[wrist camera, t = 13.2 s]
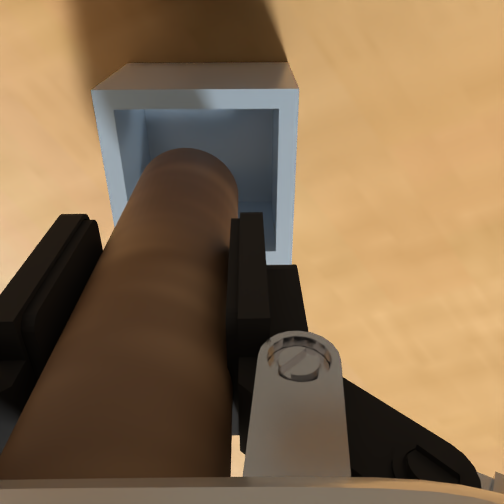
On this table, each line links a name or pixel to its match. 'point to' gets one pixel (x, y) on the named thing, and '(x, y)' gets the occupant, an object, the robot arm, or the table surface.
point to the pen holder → (207, 132)
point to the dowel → (143, 342)
